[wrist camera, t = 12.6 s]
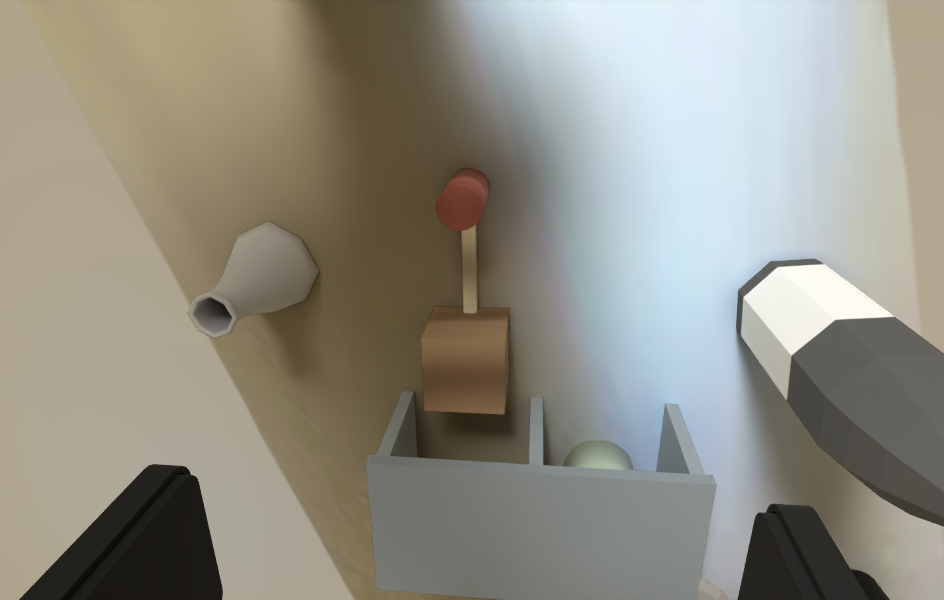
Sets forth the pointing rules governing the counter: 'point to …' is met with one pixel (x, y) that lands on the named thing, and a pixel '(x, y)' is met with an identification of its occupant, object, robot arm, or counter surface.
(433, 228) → the counter surface
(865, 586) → the cup
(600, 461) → the jar
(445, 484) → the lane shelf
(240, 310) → the flask
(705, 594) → the french press
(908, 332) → the wine bottle
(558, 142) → the counter surface
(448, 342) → the block
